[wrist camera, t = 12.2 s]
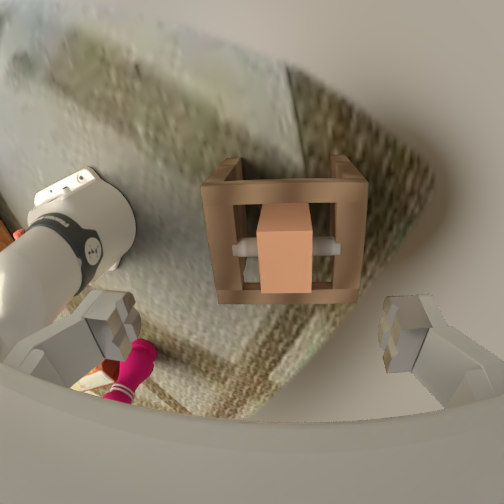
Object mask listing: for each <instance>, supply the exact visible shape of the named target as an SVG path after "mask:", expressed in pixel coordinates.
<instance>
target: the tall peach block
mask: <svg viewBox="0 0 504 504" xmlns="http://www.w3.org/2000/svg"><path fill="white" fill-rule="evenodd" d="M256 234H257V246H258V258H259V271H260V283H261V293H311V287H312V234H313V231H312V224H311V217H310V210H309V204H308V203H275V204H263V205H262V209H261V214H260V218H259V222H258V227H257V231H256Z"/></svg>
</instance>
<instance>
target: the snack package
mask: <svg viewBox="0 0 504 504" xmlns="http://www.w3.org/2000/svg"><path fill="white" fill-rule="evenodd" d="M119 372H120V361H117V360H110V359H105V360H104V361H103V362H101V363H100V364H99V365H98V366H96V367H95V368H94V369H93V370H91V371H90V372H89V373H88V374H86V375H85V376H84V377H83V378H81V379H80V380H79V381H78V382H76V383H75V384H74V385H73V386H71V387H72V388H73V389H75V390H77V391H80V392H84V391H87V390H91V389H95V388H98V387H102V386H106V385H109V384H113V383H116V382H117V380H118V377H119Z"/></svg>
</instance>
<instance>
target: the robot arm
mask: <svg viewBox="0 0 504 504" xmlns="http://www.w3.org/2000/svg"><path fill="white" fill-rule="evenodd" d="M82 176H83V178H82ZM135 233H136V225H135V218H134V215H133V212H132V209H131V207H130V205H129V203H128V202H127V200H126V199H125V197H124V196H123V195H122V194H121V193H120V192H119V191H118V190H117V189H116V188H115V187H113V186H112V185H110V184H108V183H106V182H105V181H103V180H102V179H100V177H99V176H98V175H97V173H96V172H95V171H94V170H93V169H92V168H90V167H86V168H84V169H81V170H79V171H77V172H75V173H73V174H71V175H69V176H67V177H65V178H63V179H61V180H59V181H57V182H55V183H54V184H52V185H50V186H48V187H46V188H44V189H42V190H41V191H39V192H38V193H37V194H36V195H35V208H34V209H32V210H31V211H30V212H29V214H28V229H27V230H26V233H25V231H24V229H20V230H17V231H16V232H15V233H13V236H14V238H15V241H14V242H13V243H11V244H10V245H9V246H8V247H6V248H5V249H4V250H2V251H1V252H0V504H504V361H503V360H501V359H499V358H498V357H497V356H495V355H494V354H492V353H491V352H490V351H488V350H487V349H485V348H484V347H482V346H481V345H479V344H478V343H477V342H475V341H474V340H472V339H470V338H469V337H468V336H466V335H464V334H463V333H462V332H460V331H459V330H457V329H456V328H454V327H452V326H450V327H448V325H447V323H446V321H445V319H444V317H443V315H442V313H441V311H440V310H439V308H438V306H437V304H436V302H435V300H434V299H433V297H432V295H430V294H420V295H411V296H387V297H386V298H385V300H384V304H383V309H384V312H385V314H384V315H383V316H382V317H381V318H380V321H379V326H378V339H379V345H380V347H381V348H382V349H383V350H385V352H384V355H383V360H384V364H385V368H386V372H387V373H397V372H411V371H412V372H411V373H412V374H413V375H414V376H415V377H416V378H417V379H418V380H419V381H420V382H421V383H422V384H423V385H424V387H426V389H428V391H429V392H430V393H431V394H432V395H433V396H434V397H435V398H436V399H437V400H438V401H439V402H440V404H441V405H442V406H443V407H444V409H443V410H437V411H432V412H426V413H420V414H413V415H407V416H399V417H391V418H382V419H371V420H359V421H343V422H313V423H312V422H311V423H291V422H290V423H289V422H259V421H244V420H231V419H221V418H211V417H203V416H195V415H188V414H181V413H174V412H168V411H162V410H157V409H151V408H146V407H141V406H136V405H132V404H127V403H123V402H118V401H114V400H110V399H106V398H102V397H98V396H94V395H91V394H87V393H84V392H80V391H77V390H73V389H70V387H71V386H73V385H74V384H75V383H76V382H78V381H79V380H80V379H81V378H83V377H84V376H85V375H86V374H88V373H89V372H90V371H91V370H93V369H94V368H95V367H96V366H98V365H99V364H100V363H101V362H103V361H104V360H105V359H110V360H117V361H124V362H125V361H126V359H127V357H128V355H129V353H130V352H131V350H132V345H131V343H132V342H133V341H135V340H136V339H137V338H138V336H139V334H140V332H141V325H142V324H141V317H140V314H139V312H138V311H137V310H136V309H135V308H134V305H135V299H134V297H133V294H131V293H130V292H123V291H113V290H101V289H94V290H91V291H90V293H89V294H88V295H87V296H86V297H85V299H84V300H83V301H82V302H81V303H80V305H79V306H78V307H77V308H76V310H75V311H74V312H73V313H72V315H71V316H66V317H64V318H62V319H60V320H58V321H56V322H54V321H55V319H56V318H57V317H58V315H59V314H60V313H61V311H62V310H63V309H64V307H65V306H66V305H67V304H68V302H69V301H70V300H71V299H72V297H74V296H76V295H78V294H79V293H80V292H81V291H83V290H84V289H85V288H86V287H87V286H88V285H89V284H93V283H94V282H95V281H96V280H98V279H99V278H100V277H101V276H102V275H103V274H104V273H105V272H106V271H107V270H109V271H113V270H115V269H116V268H117V267H118V265H119V262H120V259H121V257H122V256H123V255H124V254H125V253H126V252H127V251H128V250H129V249H130V247H131V246H132V244H133V241H134V238H135ZM53 322H54V323H53Z"/></svg>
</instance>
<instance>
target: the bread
mask: <svg viewBox="0 0 504 504" xmlns="http://www.w3.org/2000/svg"><path fill="white" fill-rule="evenodd" d="M13 242H14V240H13V238H12V237H11V235H10V234H9V232H8V230H7V229H6V227H5V225H4V224H3V222H2V221H1V219H0V252H1V251H2V250H4V249H5V248H6V247H8V246H9V245H10V244H11V243H13Z"/></svg>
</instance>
